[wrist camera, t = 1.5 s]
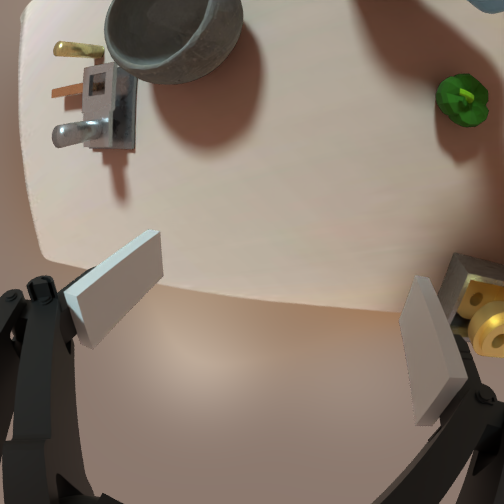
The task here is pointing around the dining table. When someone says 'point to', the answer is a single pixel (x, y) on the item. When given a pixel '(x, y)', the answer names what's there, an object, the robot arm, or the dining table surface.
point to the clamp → (484, 317)
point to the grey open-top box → (465, 287)
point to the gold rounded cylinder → (78, 50)
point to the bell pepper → (463, 100)
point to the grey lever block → (101, 109)
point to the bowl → (172, 37)
